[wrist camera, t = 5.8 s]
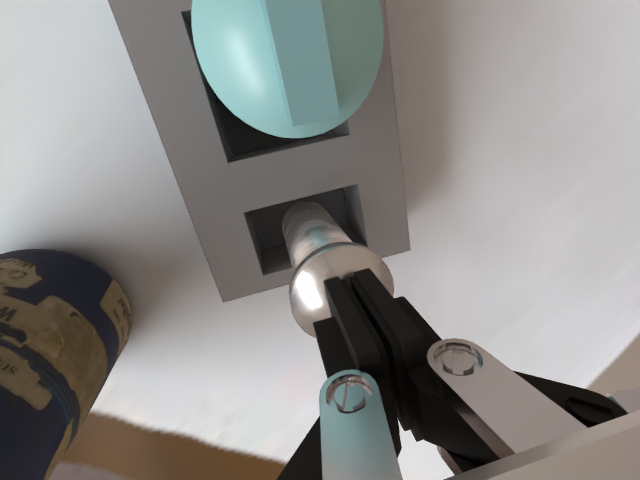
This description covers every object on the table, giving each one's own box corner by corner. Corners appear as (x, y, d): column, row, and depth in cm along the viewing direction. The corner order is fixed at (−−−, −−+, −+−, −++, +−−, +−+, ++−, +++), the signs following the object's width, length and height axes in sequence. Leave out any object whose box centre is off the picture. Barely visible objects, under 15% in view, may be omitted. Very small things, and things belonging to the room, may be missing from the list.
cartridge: (217, 50, 18) (143, -100, 6) (299, 34, 18) (386, -135, 6) (242, 137, 20) (224, 159, 8) (316, 121, 20) (409, 116, 8)
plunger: (268, 203, 18) (278, 264, 10) (330, 188, 19) (387, 235, 11) (284, 261, 20) (304, 353, 12) (341, 245, 20) (398, 324, 12)
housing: (76, -150, 14) (13, -247, 10) (331, -181, 15) (355, -276, 12) (228, 273, 22) (223, 302, 19) (386, 230, 24) (410, 250, 20)
